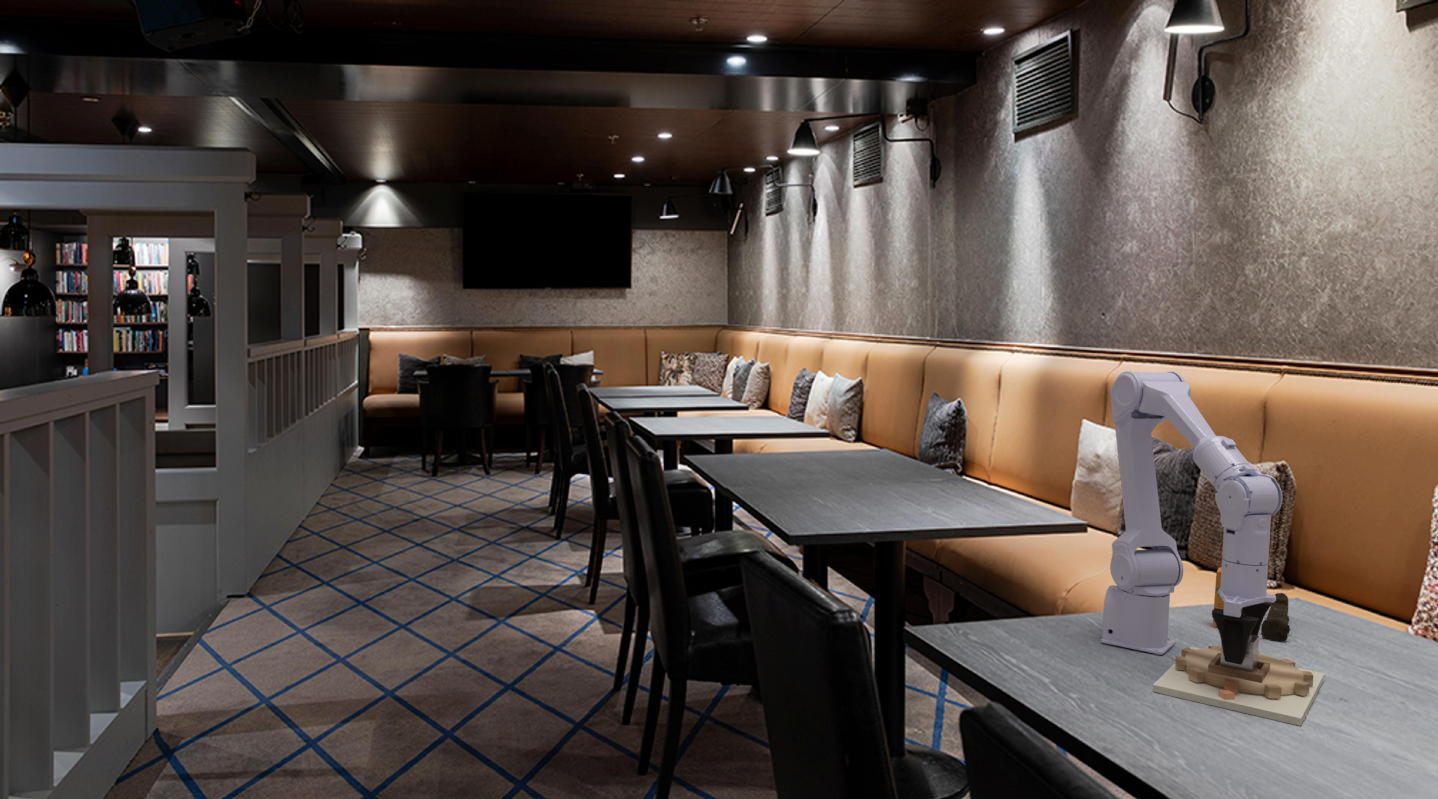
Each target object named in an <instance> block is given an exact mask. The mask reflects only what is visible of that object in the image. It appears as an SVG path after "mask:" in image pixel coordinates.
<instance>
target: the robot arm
mask: <svg viewBox="0 0 1438 799" xmlns="http://www.w3.org/2000/svg"><path fill="white" fill-rule="evenodd" d="M1110 400H1111V401H1110V402H1111V409H1112V410H1111V411H1112V418H1113V423H1114V430H1115V439H1116V447H1117V448H1116V449H1117V450H1116V451H1117V458H1118V460H1117V461H1118V466H1119V477H1120V478H1119V479H1120V488H1121V496H1122V505H1123V506H1122V507H1123V508H1122V509H1123V516H1124V524H1125V531H1124V532H1123V533H1122V534H1120V535H1119V536H1118V538H1117V537H1116V539H1115V540H1114V541H1113V542H1112V543H1111V549H1112V550H1111V551H1112V555H1111V560H1110V565H1109V570H1110V575H1111V577H1112V580H1113V581H1114V583H1115V584H1116V585H1115V584H1114V585H1113V584H1112V585H1109V586H1108V587H1107V589H1106V591H1105V595H1104V600H1103V610H1102V611H1103V613H1102V614H1103V615H1102V631H1101V632H1102V635H1101V638H1100V643H1102V644H1106V645H1113V646H1116V647H1117V646H1118V647H1121V648H1127V649H1132V650H1135V651H1141V652H1146V653H1150V654H1155V655H1161V656H1163V655H1164V654H1165V653H1166V652H1167V651H1168V650H1170V649H1171V648H1172V647H1173V645H1175V643H1176V641H1175V640H1173V639H1169V637H1168V636H1169V617H1170V600H1171V599H1170V598H1171V594H1173V593H1175V587H1177V586H1178V585H1179V584H1181V581H1182V580H1183V578H1184V577H1183V576H1184V565H1183V564H1184V563H1183V561H1182V558H1181V556H1180V554H1179V552H1178V546H1177V541H1176V540H1175V539H1174V538H1173V537H1172V536H1171V535H1170V534H1168V533H1167V532H1166V531H1164V529H1163V528H1162V527H1163V526H1162V519H1161V510H1160V509H1161V508H1160V499H1159V493H1158V492H1159V491H1158V483H1157V475H1156V474H1157V473H1156V464H1155V454H1154V446H1153V438H1152V432H1153V431H1154V430H1155V428H1156V427H1157V426H1158V425H1160V424H1162V423H1163V422H1164V421H1166V420H1167V421H1168V422H1169V423H1170V424H1171V425H1172V426H1173V427H1174V428H1175V429H1176V430H1177V431H1178V433H1179V434H1181V436H1182V437H1183V438H1184V439H1185V440H1186V441H1187V442H1188V443H1189V444H1190V446H1191V447H1192V448H1193V454H1192V460H1193V462H1194V463H1195V464H1196V466H1197V467H1198V469H1199V470H1200V471H1201V472H1202V473H1203V475H1204V476H1205V478H1206V479H1207V480H1208V482H1209V483H1210V484H1211V485H1212V487H1213V488H1214V489H1215V490H1216V492H1215V493H1214V496H1215V497H1214V498H1215V503H1216V506H1217V508H1218V510H1219V513H1220V518H1219V521H1220V522H1219V523H1221V527H1222V528H1223V536H1222V555H1221V556H1222V557H1221V567H1222V568H1221V586H1220V588H1219V595H1220V597H1221V598H1222V600H1223V601H1224V610H1223V609H1218V608H1214V607H1213V609H1212V610H1211V616H1212V620H1213V619H1214V621H1215V623H1216V625H1217V627H1218V628H1217V627H1216V628H1217V630H1218V634H1219V636H1220V642H1221V644H1222V648H1223V654H1224V659H1225V661H1226V662H1230V663H1235V664H1240V665H1242V663H1243V661H1244V658H1245V655H1246V650H1247V646H1248V641H1249V638H1250V635H1251V634H1252V635H1256V636H1259V632H1260V630H1261V626H1262V623H1263V621H1264V619H1265V616H1266V614H1267V612H1269V610H1270V607H1271V603H1274V602H1275V601H1276V596H1275V594H1270V593H1267V590H1268V587H1267V586H1268V574H1269V573H1268V569H1269V556H1270V543H1271V539H1270V538H1271V524H1272V523H1271V522H1272V516H1274V515H1276V514H1277V513H1278V512H1279V511H1280V509H1281V507H1282V505H1283V497H1284V496H1283V493H1282V492H1283V491H1282V489H1281V486H1280V484H1279V483H1278V482H1277V479H1276V477H1273V476H1272V475H1270V474H1266V473H1265V474H1263V473H1262V472H1261V471H1260V470H1256V469H1255V467H1254V466H1253V465H1252V464H1250V462H1249V461H1248V460H1247V459H1246V457H1244V455H1243V454H1242V453H1241V451H1240V450H1239V449H1238V448H1237V447H1236V446H1237V443H1236V442H1235V441H1234V440H1233V439H1232V438H1228V437H1226V436H1224V435H1216V434H1215V432H1214V431H1213V429H1212V428H1211V426H1210V425H1209V423H1208V422H1207V421H1206V419H1205V417H1204V416H1203V415H1202V412H1201V411H1200V410H1199V409H1198V408H1197V406H1196V404H1195V403H1194V402H1193V400H1192V398H1191V386H1190V384H1188V383H1187V381H1186V380H1185V378H1184V377H1183V375H1182V374H1181V373H1179V372H1176V371H1167V372H1149V371H1147V372H1144V371H1143V372H1141V371H1138V372H1137V371H1135V372H1134V371H1130V370H1129V371H1128V370H1127V371H1123V372H1121V373H1120V374H1119V375H1118V376H1117V377H1116V379H1115V380H1114V382H1113V384H1112V386H1111V387H1110ZM1143 547H1144V548H1145V547H1150V548H1152V549H1150V548H1149V549H1139V548H1143Z"/></svg>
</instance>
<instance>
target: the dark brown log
mask: <svg viewBox="0 0 1438 799" xmlns="http://www.w3.org/2000/svg"><path fill="white" fill-rule="evenodd" d="M1274 595H1275V596H1276V601H1275V602H1274V603H1271V606H1270V608H1269V609H1268V611H1267V612H1268V613H1267V615H1266V616H1267V617H1266V619H1265V618H1264V619H1263V620H1262V623H1261V626H1260V630H1261V633H1260V635H1261V636H1262V638H1263V639H1264V640H1266V641H1272V642H1278V643H1279V642H1280V643H1283V642H1286V641H1287V639H1288V636H1289V635H1288V634H1289V633H1290V631H1291V630H1290V629H1291V628H1290V625H1289V623H1290V616H1289V597H1288V596H1287V595H1286V593H1284V592H1277V593H1275V594H1274Z"/></svg>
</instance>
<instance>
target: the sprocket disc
mask: <svg viewBox="0 0 1438 799" xmlns="http://www.w3.org/2000/svg"><path fill="white" fill-rule="evenodd" d="M1181 656H1182V657H1181ZM1220 662H1221V646H1220V645H1208V647H1207V648H1201V649H1198V650H1194V649H1191V648H1190V647H1185V648H1182V649H1181V655H1176V656H1175V662H1174V663H1175V667H1176V669H1178V670H1186V671H1187V672H1188V673H1189V676H1188V679H1190V680H1192V681H1194V682H1196V683H1199V682H1205V683H1208V684H1211V685H1214V686H1217V687H1221V688H1224V690H1229V691H1231V692H1233V693H1234V694H1237V693H1238V692H1244V693H1251V694H1260V695H1265V696H1266V697H1268V698H1276V699H1281V695H1287V694H1293V693H1295V694H1298V695H1301V696H1305V695H1308V694H1309V688H1310V686H1313V674H1312V673H1311V672H1308V671H1300V670H1299V669H1298V668H1299V667H1296V662H1295V661H1293V660H1290V659H1287V658H1283V659H1280V658H1276V657H1272V656H1269V655H1264V654H1261V653H1260V651H1259V650H1258V663H1257V671H1256V673H1251V672H1247V671H1242V670H1237V669H1232V668H1227V667H1222V666H1220Z"/></svg>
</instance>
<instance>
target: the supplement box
mask: <svg viewBox="0 0 1438 799" xmlns="http://www.w3.org/2000/svg"><path fill="white" fill-rule="evenodd" d="M1221 568H1222V566H1221V567H1218V569H1217V571H1216V575H1215V576H1216V577H1215V586H1214V587H1215V588H1214V601H1213V602H1214V604H1213V609H1214V608H1218V609H1223V610H1224V601H1223V600H1222V598H1221V597H1220V595H1219V588H1220V586H1221ZM1212 627H1213V628H1217V629H1218V627H1217V625H1216V623H1215V621H1214V619H1213V618H1212Z"/></svg>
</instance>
